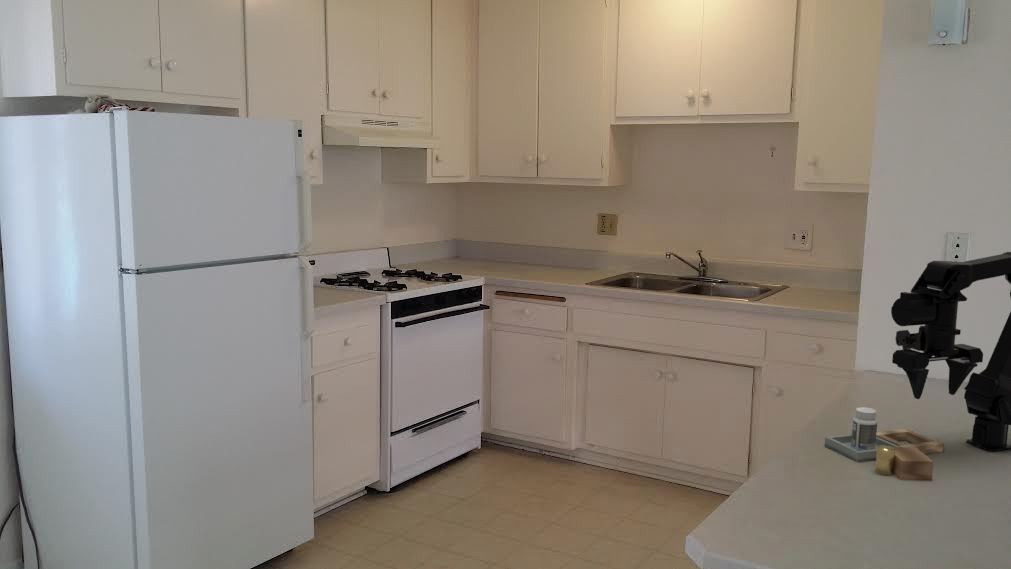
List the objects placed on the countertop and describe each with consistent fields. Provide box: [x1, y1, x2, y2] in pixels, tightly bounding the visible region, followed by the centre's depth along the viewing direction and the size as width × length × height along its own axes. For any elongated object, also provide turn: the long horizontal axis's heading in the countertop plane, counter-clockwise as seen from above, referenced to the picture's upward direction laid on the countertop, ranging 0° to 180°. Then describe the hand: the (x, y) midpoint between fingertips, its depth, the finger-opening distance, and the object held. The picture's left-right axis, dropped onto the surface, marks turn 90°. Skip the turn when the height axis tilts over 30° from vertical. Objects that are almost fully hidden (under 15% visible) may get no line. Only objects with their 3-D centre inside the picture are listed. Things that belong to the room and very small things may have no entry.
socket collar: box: [876, 428, 945, 455], centre depth 183 cm, size 10×10×2 cm
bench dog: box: [874, 445, 895, 476], centre depth 167 cm, size 3×3×5 cm
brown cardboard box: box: [893, 447, 934, 482], centre depth 167 cm, size 6×8×4 cm
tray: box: [824, 433, 899, 463], centre depth 179 cm, size 11×10×2 cm
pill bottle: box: [851, 406, 878, 451], centre depth 179 cm, size 5×5×8 cm
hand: (934, 396), depth 177 cm, fingers open, 9 cm apart
